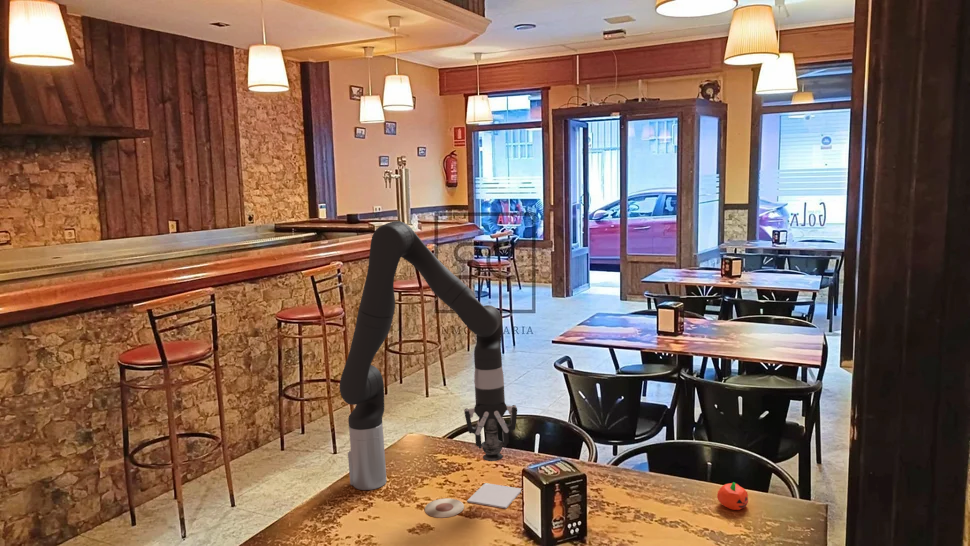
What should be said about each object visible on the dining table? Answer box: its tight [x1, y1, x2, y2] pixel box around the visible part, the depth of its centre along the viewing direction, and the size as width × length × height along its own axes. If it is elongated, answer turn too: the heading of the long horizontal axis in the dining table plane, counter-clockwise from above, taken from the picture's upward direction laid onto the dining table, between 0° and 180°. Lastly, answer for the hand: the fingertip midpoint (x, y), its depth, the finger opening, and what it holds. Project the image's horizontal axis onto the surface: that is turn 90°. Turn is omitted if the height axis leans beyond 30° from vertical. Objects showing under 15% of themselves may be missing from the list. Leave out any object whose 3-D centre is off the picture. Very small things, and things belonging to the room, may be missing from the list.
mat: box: [466, 482, 522, 509], centre depth 177 cm, size 11×11×1 cm
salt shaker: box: [481, 419, 504, 462], centre depth 175 cm, size 6×6×12 cm
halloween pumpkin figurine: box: [716, 481, 749, 511], centre depth 165 cm, size 7×8×6 cm
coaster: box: [424, 497, 465, 519], centre depth 172 cm, size 10×10×1 cm
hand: (492, 446), depth 175 cm, fingers closed on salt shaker, 6 cm apart
